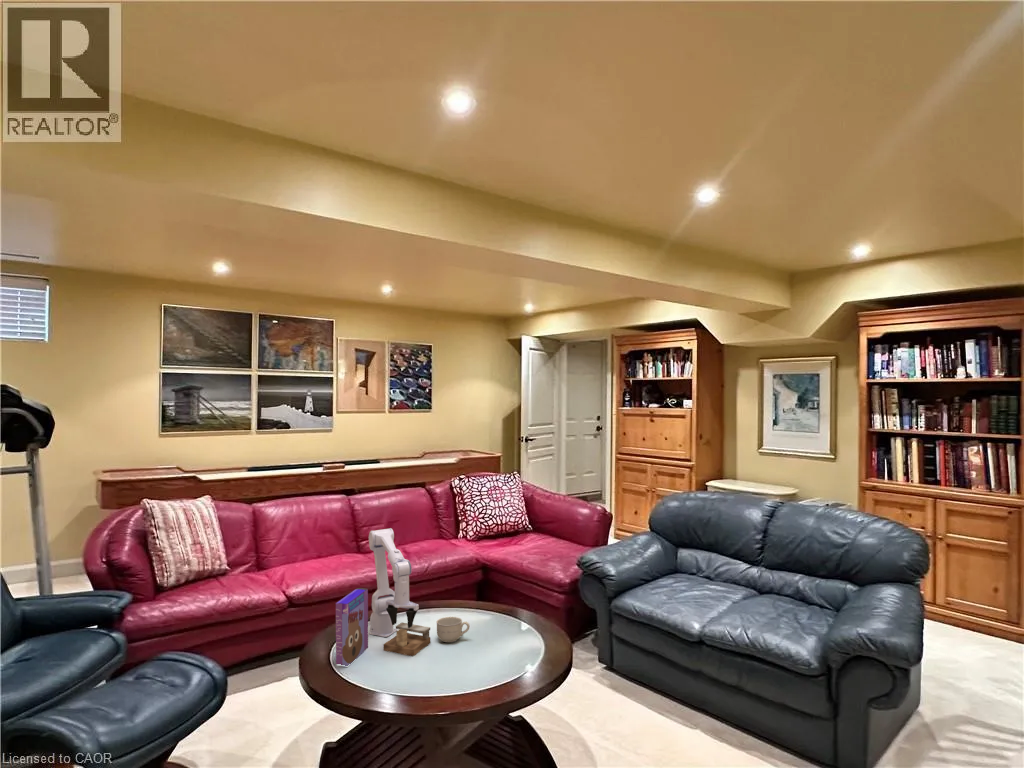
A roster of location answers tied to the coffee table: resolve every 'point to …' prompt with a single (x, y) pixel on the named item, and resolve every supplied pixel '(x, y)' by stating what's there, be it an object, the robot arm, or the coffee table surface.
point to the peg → (402, 637)
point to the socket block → (409, 640)
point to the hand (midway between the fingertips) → (402, 625)
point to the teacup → (450, 628)
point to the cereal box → (351, 626)
